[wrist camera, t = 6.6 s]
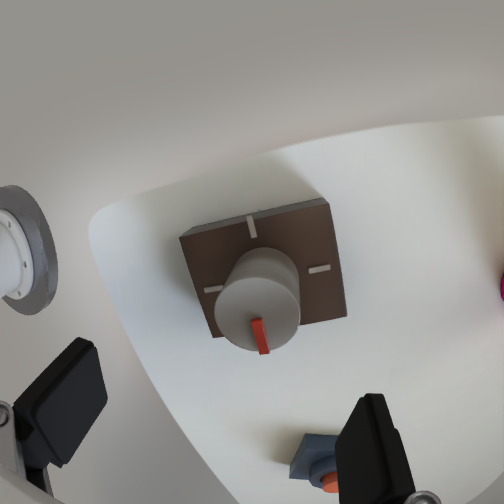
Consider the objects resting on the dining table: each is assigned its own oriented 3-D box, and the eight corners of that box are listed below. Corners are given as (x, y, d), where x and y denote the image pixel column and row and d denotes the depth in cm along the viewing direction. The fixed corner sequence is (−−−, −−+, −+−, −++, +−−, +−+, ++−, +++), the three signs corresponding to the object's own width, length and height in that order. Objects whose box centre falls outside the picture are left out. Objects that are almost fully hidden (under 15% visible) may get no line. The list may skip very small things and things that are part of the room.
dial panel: (222, 321, 24) (213, 342, 21) (191, 223, 22) (176, 233, 19) (341, 301, 22) (348, 321, 19) (323, 193, 20) (328, 198, 17)
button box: (289, 465, 30) (288, 489, 27) (305, 433, 28) (305, 461, 24) (360, 468, 30) (363, 490, 26) (385, 436, 27) (390, 461, 23)
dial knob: (225, 253, 19) (202, 287, 14) (292, 241, 18) (292, 272, 13) (240, 312, 20) (225, 358, 15) (303, 303, 20) (306, 349, 15)
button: (318, 481, 26) (318, 493, 24) (328, 468, 25) (328, 480, 23) (346, 481, 26) (347, 492, 24) (357, 468, 25) (358, 480, 23)
